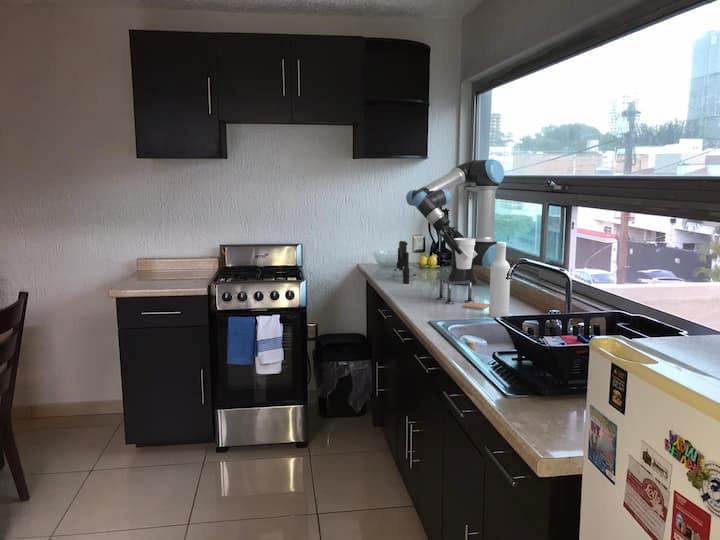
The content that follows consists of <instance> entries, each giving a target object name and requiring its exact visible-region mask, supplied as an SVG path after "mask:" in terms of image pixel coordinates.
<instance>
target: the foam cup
mask: <svg viewBox="0 0 720 540" xmlns="http://www.w3.org/2000/svg"><path fill="white" fill-rule="evenodd" d="M455 241H456V243H457V245H458V246H460V247H461V248H462V249H463V251H464V252H465V253H466V254H467V255H468V256H469V257H468V258H467V259H466V260H465V261H464V260H463V259H462V258H461V257H460V256H459V255H458V254H457V252H456V251H455V257H456V266H457V268H458V269H471V265H472V258H473V252H474V246H475V238H470V237H465V238H455Z"/></svg>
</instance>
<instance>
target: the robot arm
mask: <svg viewBox="0 0 720 540" xmlns="http://www.w3.org/2000/svg"><path fill="white" fill-rule="evenodd" d="M504 178H505V169H504V166H503V165H502V163H501V162H500V161H499V160H496V159H474V160H473V159H472V160H469V161H465V162H464V163H463V162H462V163H461V164H459V165H457V166H455V167H453V168H452V169H450V172H449V173H446V174H445V175H443V176H440V177H439V178H437V179H436V180H434V181H431V182H430V183H429V184H425V185H424V186H422V187H420V188H419V189H416V190H415V189H413V190H409V191H408V192H407V193H406V196H405V200H406V203H407V204H408V205H409V206H413V207H415V209H417V210H418V211H419V212H420V214H422V216H423V217H424V218H425V219H426V221H427V223H428V224H430V225H431V226H432V228H434V230H435V231H436V232H437V233H438V234H439V235H440V236H441V237H442V239H443V240H444V241H445V243H446V245H447V246H448V248H449V249H450V250H451V270H450V273H449V276H448V279H447V281H449V282H459V281H471V282H472V286H474V285H477V283H478V279H477V275H476V271H475V266H479V267H480V266H481V267H484V268H487V267H489V268H491V265H492V263H493V262H494V261H495V260H496V249H497V247H496V245H497V242H498V241H497V239H496V238H495V214H496V213H495V211H496V190H497V189H498V188H499V187H500V185H499V184H501V183H502V182H503V180H504ZM464 184H475V188H476V189H477V191H478V192H477V215H476V216H477V217H476V219H477V220H476V221H477V222H476V238H474V239H475V246H474V252H473V258H472V265H471V269H458V268H457V266H456V257H455V251H456V252H457V254H458V255H459V256H460V257H461V258H462V259H463V260H464V261H465V260H466V259H467V258H468V257H469V256H468V255H467V254H466V253H465V252H464V251H463V249H462V248H461V247H460V246H458V245H457V243H456V241H455V238H466V237H465V236H464V235H463V234H462V233H461V232H460V231H459V230H458V229H457V228H456V227H455V226H450V223H451V220H450V219H449V217H447V216H446V215H445V213H444V212H443V210H441V207H443V206H446V205H447V204H450V202H451V200H452V195H451V192H450V190H451V189H453V188H455V187H458V186H459V187H460V186H463V185H464ZM454 285H455V286H456V285H458V286H468V283H467V284H454Z"/></svg>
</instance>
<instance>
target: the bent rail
mask: <svg viewBox="0 0 720 540" xmlns="http://www.w3.org/2000/svg"><path fill="white" fill-rule="evenodd" d="M444 283H445V284H447V291H446V293H447V297H444ZM467 283H468V285H467V299H466V300H465V301H464V302H465V303H464V304H466V303H468V302H475V301H474V300H472V294H473V292H472V291H473V285H472V282H471V281H459V282H449V281H448V279H445V278H440V279H439V286H438V287H439V291H438V295H439V296H437V297H436V300H439V301H441V300H442V301H443V300H444V304H445V305H453V304H454V303H455V302H454V301H452V285H455V284H467ZM446 298H447V299H446Z"/></svg>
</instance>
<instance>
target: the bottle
mask: <svg viewBox="0 0 720 540" xmlns="http://www.w3.org/2000/svg"><path fill="white" fill-rule="evenodd" d="M496 247H497V249H496V260H495V261H494V262H493V263H492V265H491V267H490V272H489V273H490V274H489V277H490V278H489V299H488V300H489V301H488V302H489V303H488V304H489V307H488V315H489V316H490V317H491V318H494V319H496V318H495V317H499V316H508V317H509V313H510V289H511V287H510V286H511V278H510V279H509V280H507V279H506V277H507V273H508V271H509V269H510V270H511V265H510V263H509V262H508V261H507V260H506V258H507V257H506V252H507V243H506V242H505V241H497V245H496Z"/></svg>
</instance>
